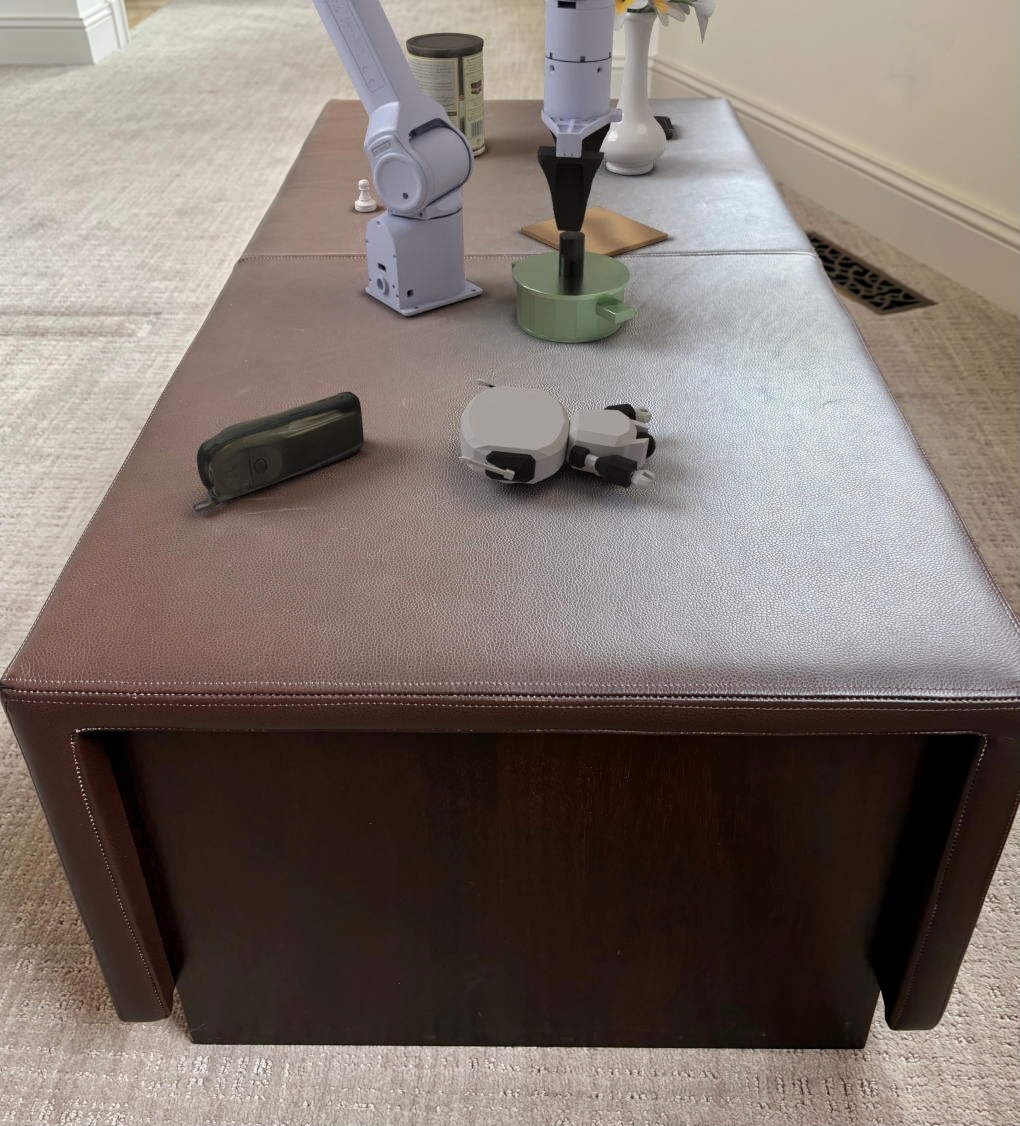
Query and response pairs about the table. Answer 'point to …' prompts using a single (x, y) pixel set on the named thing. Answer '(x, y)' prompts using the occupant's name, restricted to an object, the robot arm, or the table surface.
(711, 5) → the flower vase
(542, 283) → the pot lid
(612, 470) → the robot toy
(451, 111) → the coffee can
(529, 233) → the trivet
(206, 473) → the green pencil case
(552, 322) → the pot
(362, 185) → the chess pawn
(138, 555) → the table surface
